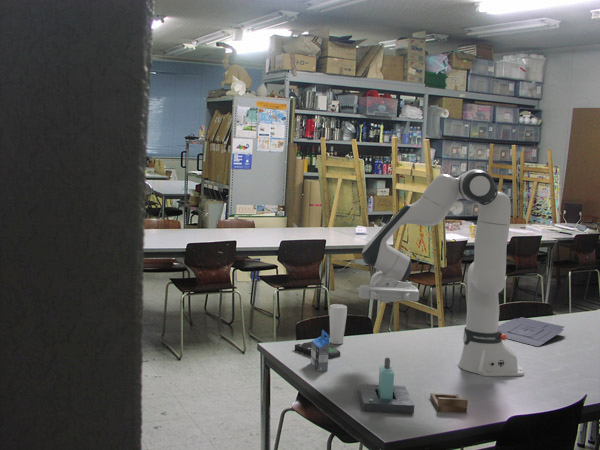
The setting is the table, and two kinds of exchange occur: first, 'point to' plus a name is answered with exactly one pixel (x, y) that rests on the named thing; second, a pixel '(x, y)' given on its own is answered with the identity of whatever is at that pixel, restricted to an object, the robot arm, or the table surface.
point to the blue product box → (320, 352)
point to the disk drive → (306, 350)
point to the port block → (385, 400)
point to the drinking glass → (337, 323)
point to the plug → (386, 381)
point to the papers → (529, 331)
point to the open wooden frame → (449, 403)
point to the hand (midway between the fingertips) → (391, 297)
